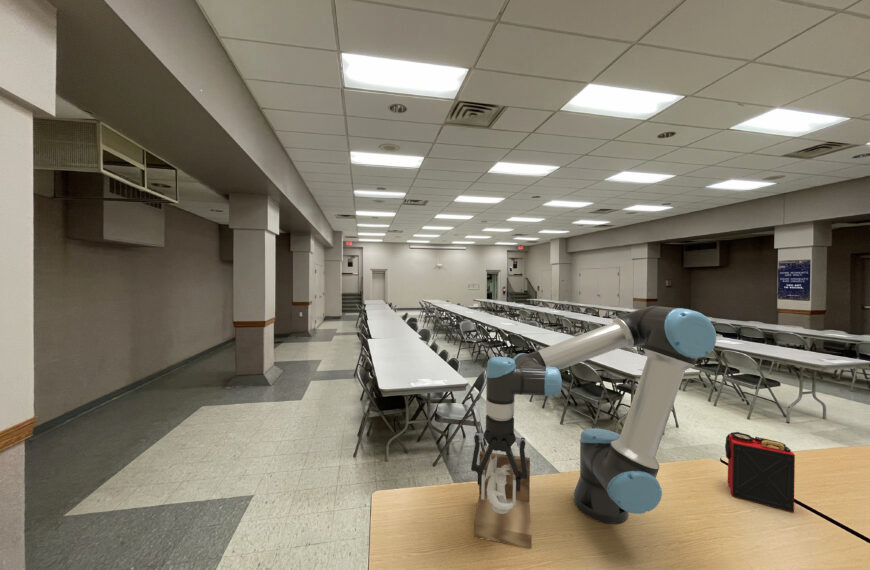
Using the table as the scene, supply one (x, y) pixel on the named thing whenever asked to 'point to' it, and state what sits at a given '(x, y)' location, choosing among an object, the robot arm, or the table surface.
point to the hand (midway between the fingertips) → (498, 498)
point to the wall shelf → (517, 520)
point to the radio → (760, 470)
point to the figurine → (498, 487)
